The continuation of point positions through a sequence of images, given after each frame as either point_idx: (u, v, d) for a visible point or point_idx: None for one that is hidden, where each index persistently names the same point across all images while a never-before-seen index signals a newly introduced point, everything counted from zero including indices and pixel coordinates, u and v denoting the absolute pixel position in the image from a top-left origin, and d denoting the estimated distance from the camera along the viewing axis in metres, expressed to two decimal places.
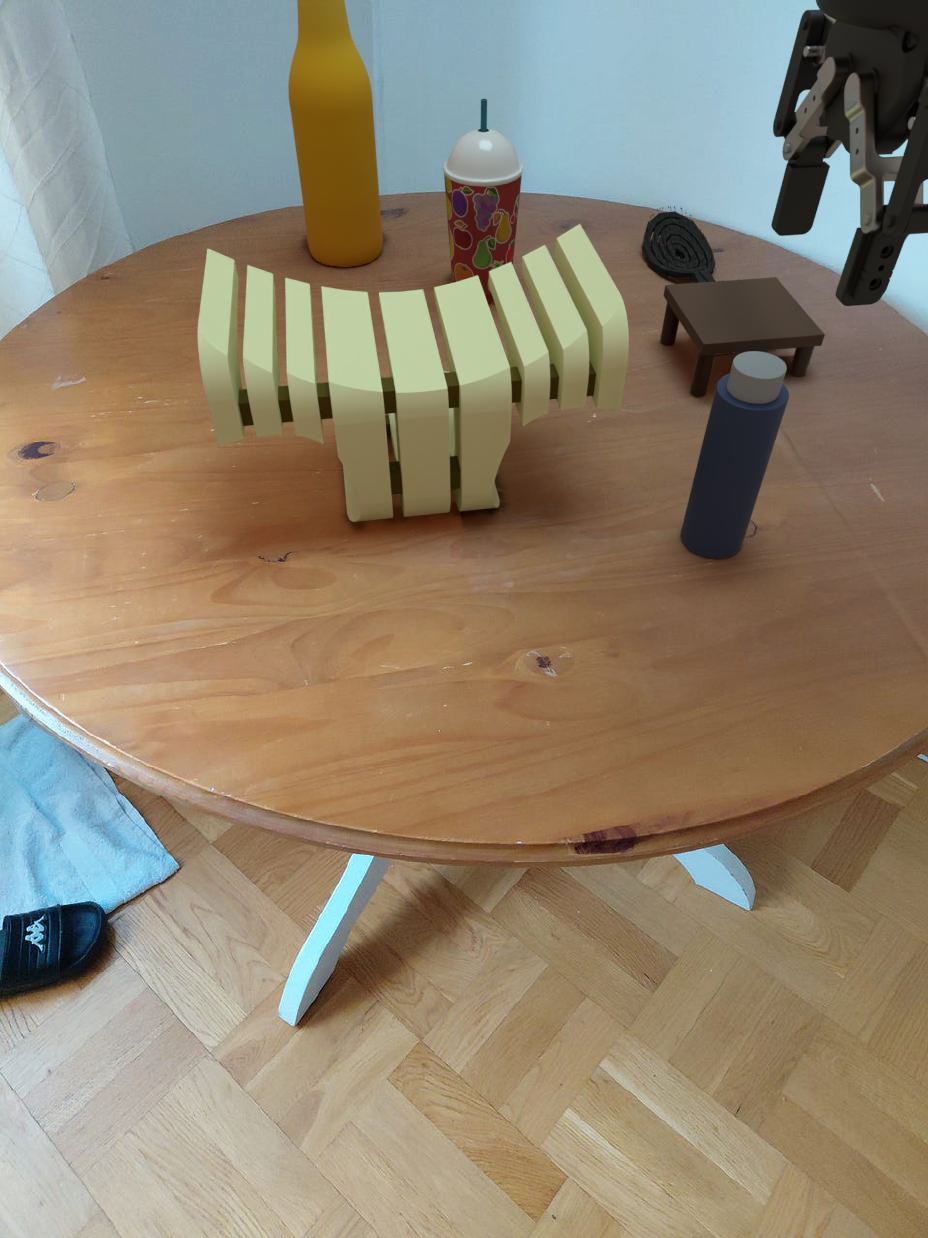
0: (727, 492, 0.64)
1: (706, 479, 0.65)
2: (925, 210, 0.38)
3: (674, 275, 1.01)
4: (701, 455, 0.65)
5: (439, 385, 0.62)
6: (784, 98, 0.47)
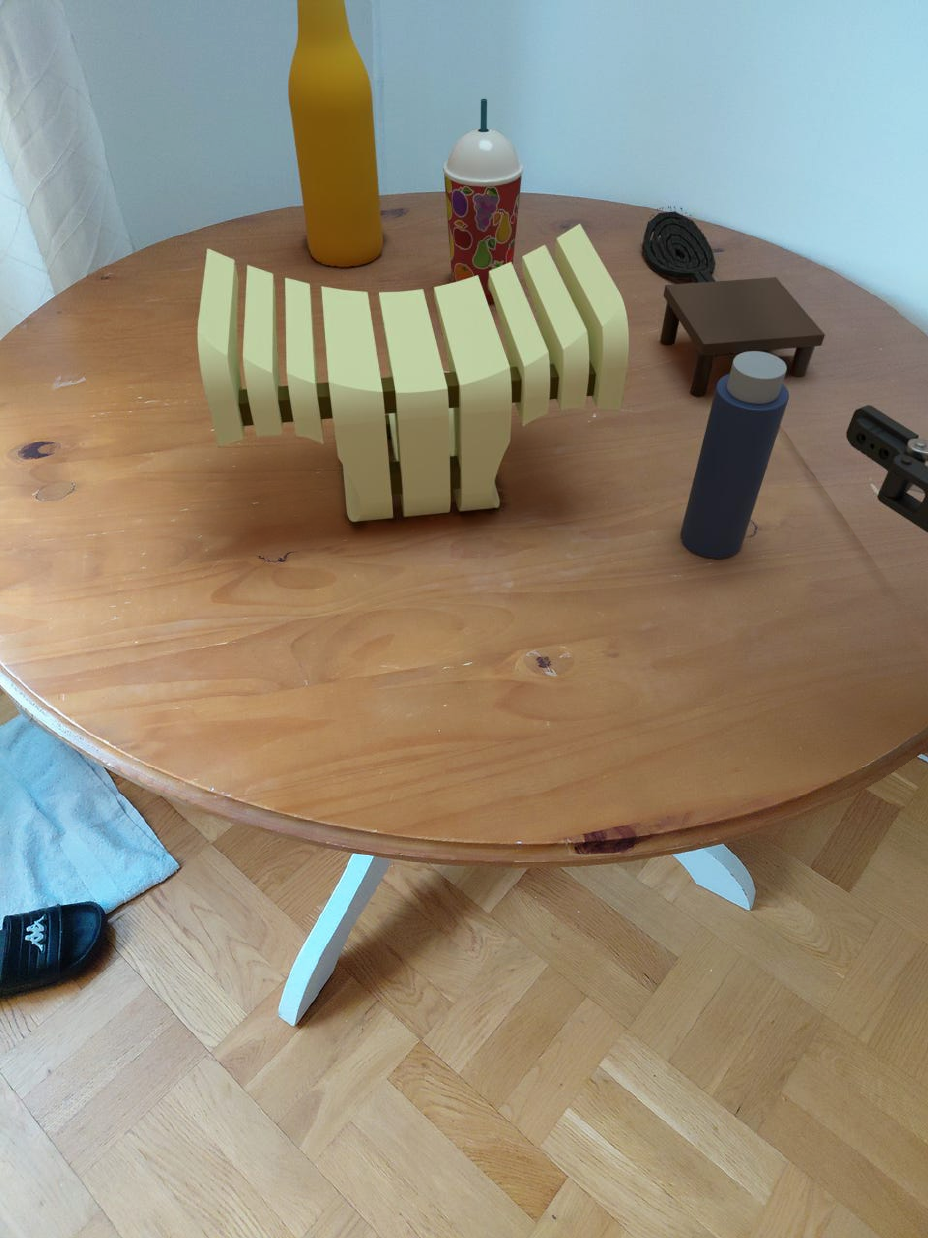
0: (727, 492, 0.64)
1: (706, 479, 0.65)
2: (900, 489, 0.44)
3: (674, 275, 1.01)
4: (701, 455, 0.65)
5: (439, 385, 0.62)
6: None
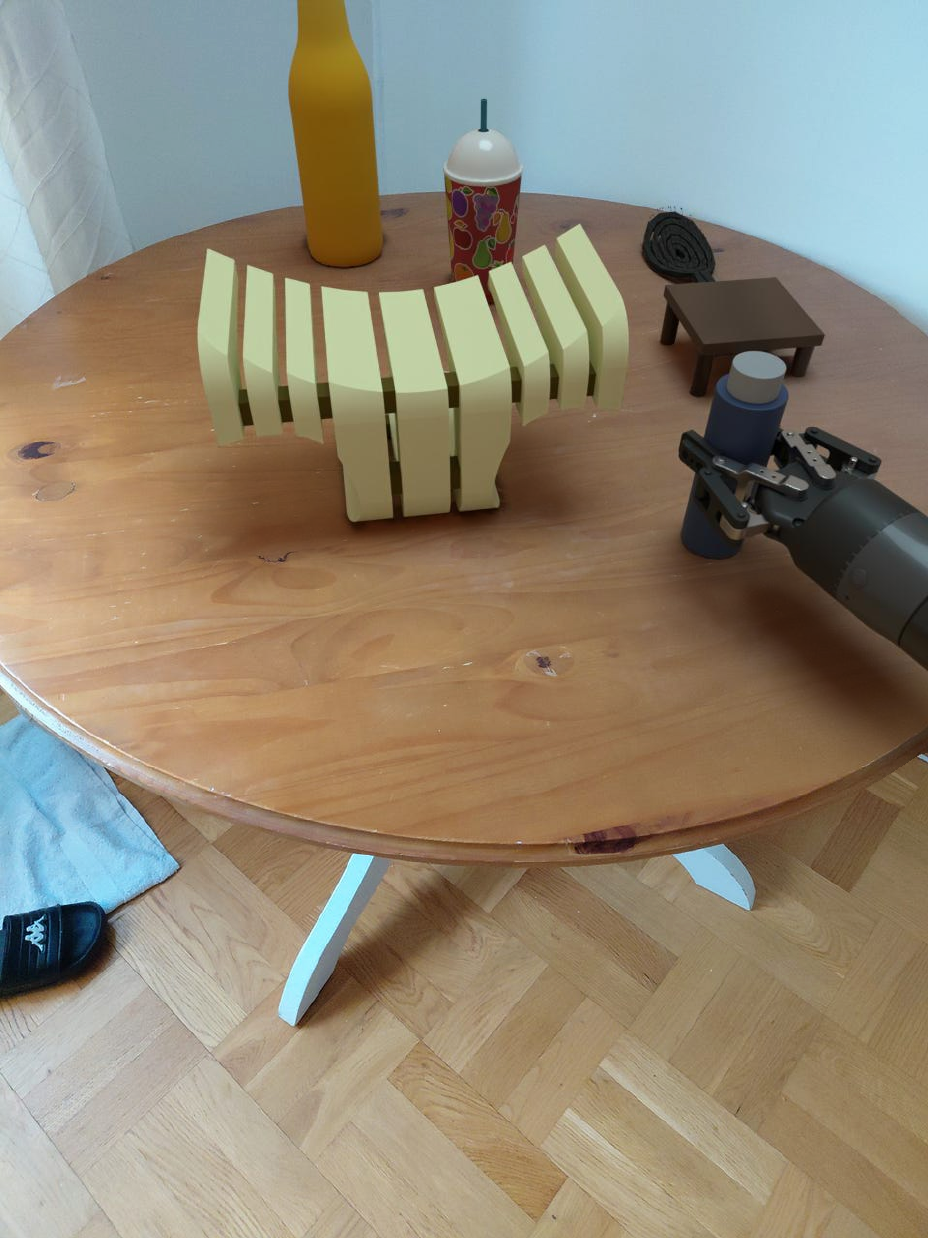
0: None
1: None
2: (705, 492, 0.61)
3: (674, 275, 1.01)
4: None
5: (439, 385, 0.62)
6: (829, 438, 0.63)
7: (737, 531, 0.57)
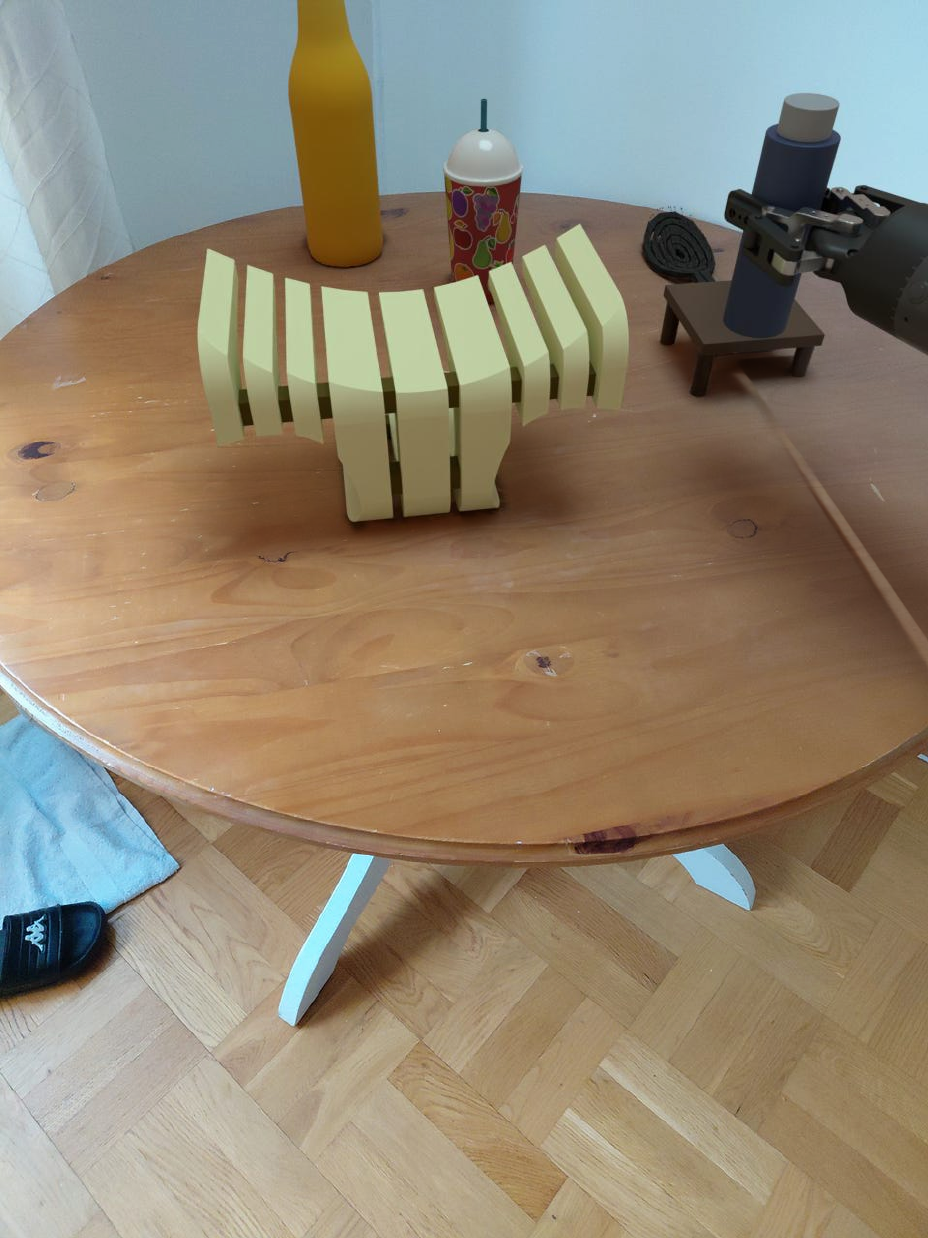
0: None
1: None
2: (755, 240, 0.59)
3: (674, 275, 1.01)
4: None
5: (439, 385, 0.62)
6: (880, 193, 0.62)
7: (790, 264, 0.56)
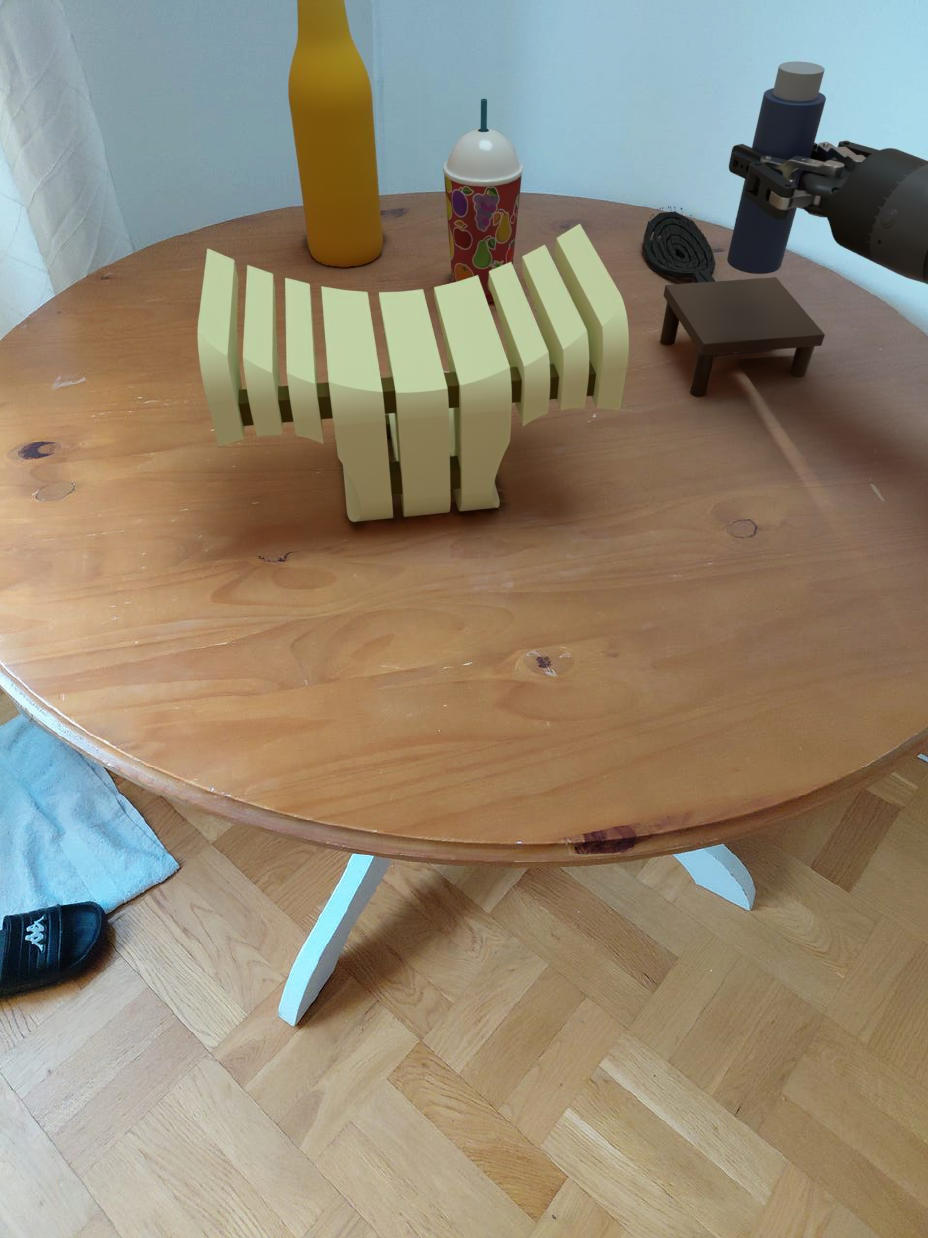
0: None
1: None
2: (755, 183, 0.71)
3: (674, 275, 1.01)
4: None
5: (439, 385, 0.62)
6: (859, 146, 0.73)
7: (785, 200, 0.68)
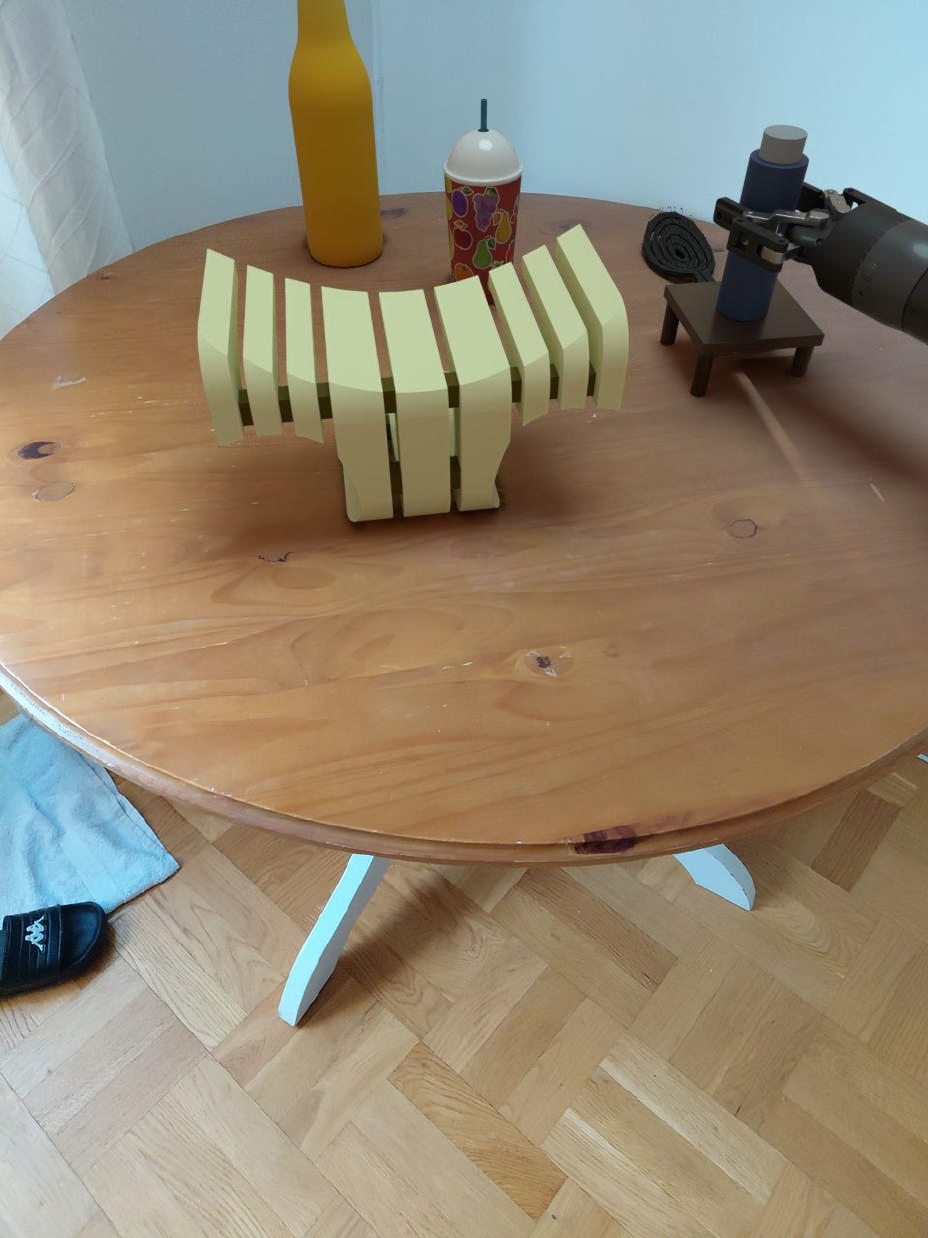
0: None
1: None
2: (737, 238, 0.73)
3: (674, 275, 1.01)
4: None
5: (439, 385, 0.62)
6: (861, 195, 0.76)
7: (780, 255, 0.70)
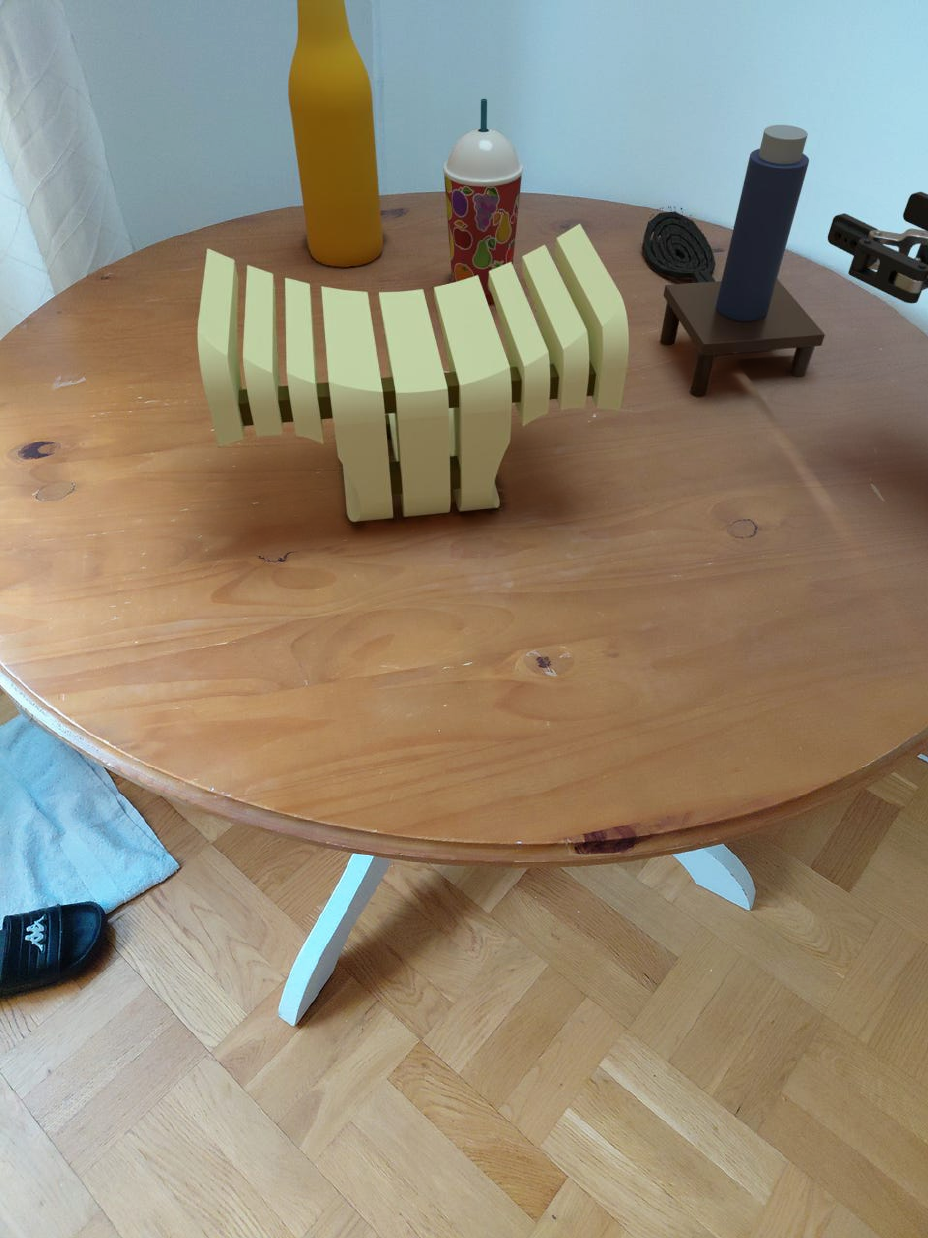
0: (757, 251, 0.78)
1: (740, 242, 0.79)
2: (863, 263, 0.64)
3: (674, 275, 1.01)
4: (736, 222, 0.79)
5: (439, 385, 0.62)
6: None
7: (919, 283, 0.61)
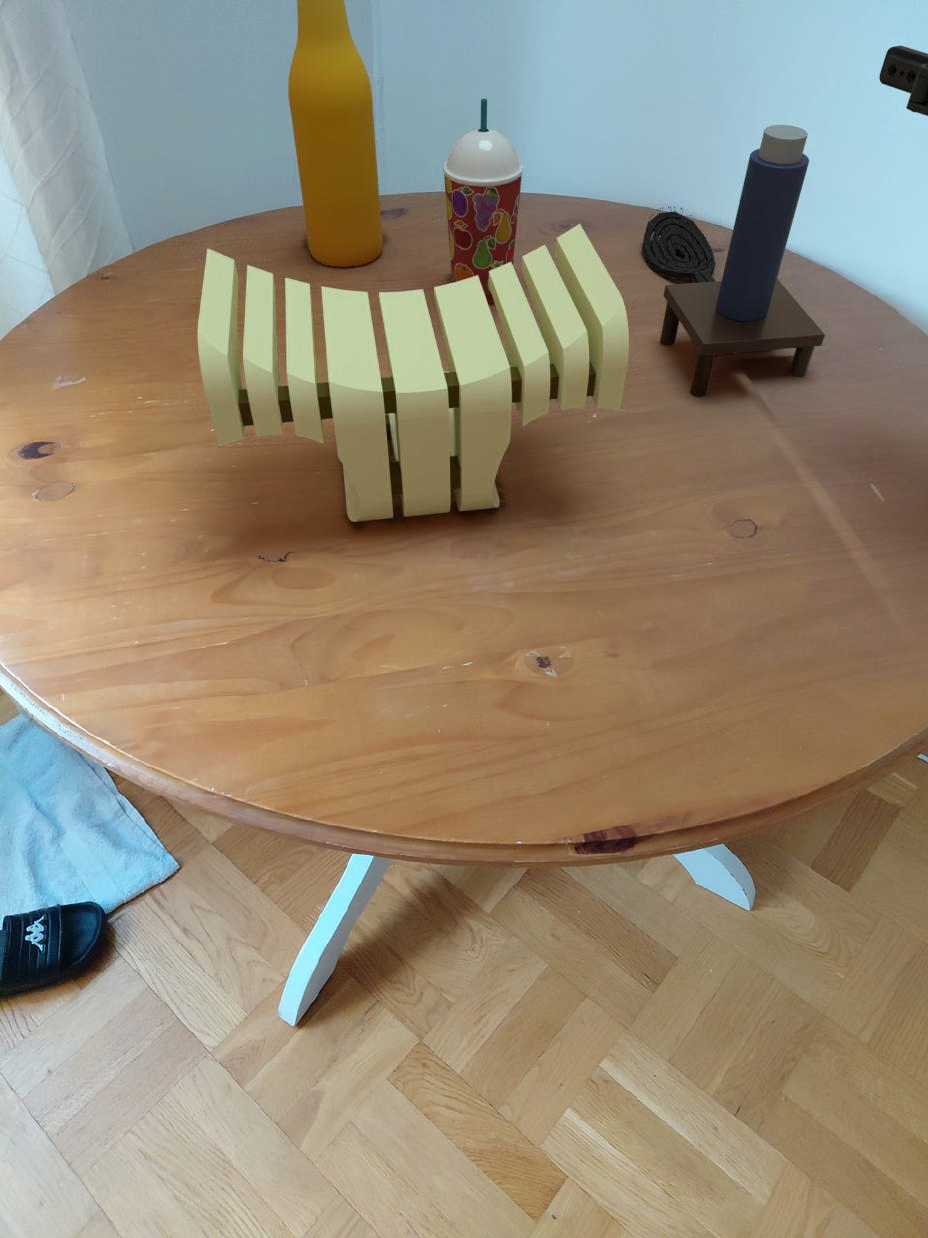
0: (757, 251, 0.78)
1: (740, 242, 0.79)
2: (925, 92, 0.55)
3: (674, 275, 1.01)
4: (736, 222, 0.79)
5: (439, 385, 0.62)
6: None
7: None
